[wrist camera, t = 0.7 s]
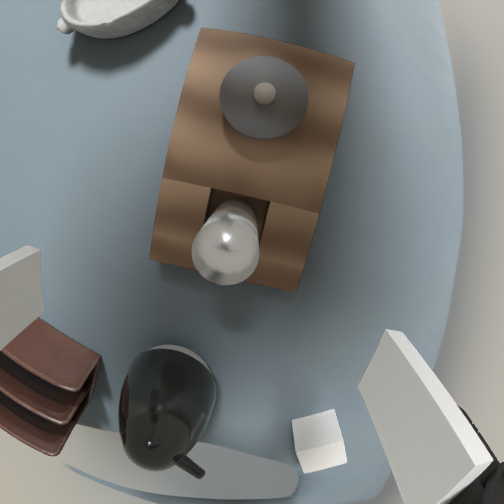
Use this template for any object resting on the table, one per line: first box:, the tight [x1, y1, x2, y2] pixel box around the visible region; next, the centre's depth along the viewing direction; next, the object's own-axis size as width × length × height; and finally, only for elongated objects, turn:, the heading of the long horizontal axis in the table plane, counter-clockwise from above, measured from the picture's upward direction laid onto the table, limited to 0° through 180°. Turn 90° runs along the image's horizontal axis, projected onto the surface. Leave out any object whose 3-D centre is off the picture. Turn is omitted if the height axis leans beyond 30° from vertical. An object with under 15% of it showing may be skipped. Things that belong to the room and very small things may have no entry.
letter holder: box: [0, 317, 101, 456], centre depth 28 cm, size 10×20×14 cm, turn 63°
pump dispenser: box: [118, 344, 217, 479], centre depth 28 cm, size 10×10×15 cm
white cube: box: [292, 409, 347, 474], centre depth 35 cm, size 6×6×6 cm
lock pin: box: [192, 197, 259, 285], centre depth 24 cm, size 4×4×12 cm
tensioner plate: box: [149, 28, 355, 292], centre depth 25 cm, size 22×14×6 cm, turn 167°
